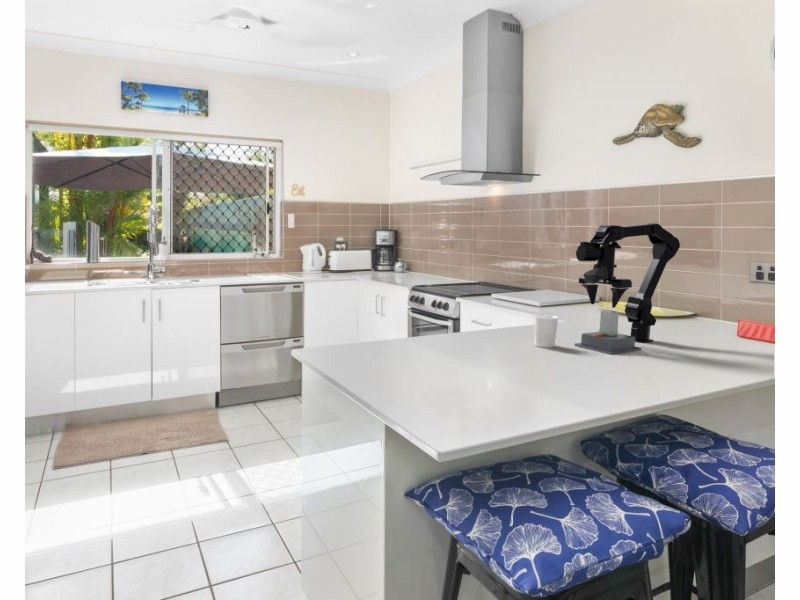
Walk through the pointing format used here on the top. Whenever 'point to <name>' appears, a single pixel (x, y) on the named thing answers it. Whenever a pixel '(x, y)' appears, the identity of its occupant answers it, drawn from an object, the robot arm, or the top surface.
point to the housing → (608, 343)
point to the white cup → (545, 330)
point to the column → (609, 323)
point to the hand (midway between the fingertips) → (602, 305)
